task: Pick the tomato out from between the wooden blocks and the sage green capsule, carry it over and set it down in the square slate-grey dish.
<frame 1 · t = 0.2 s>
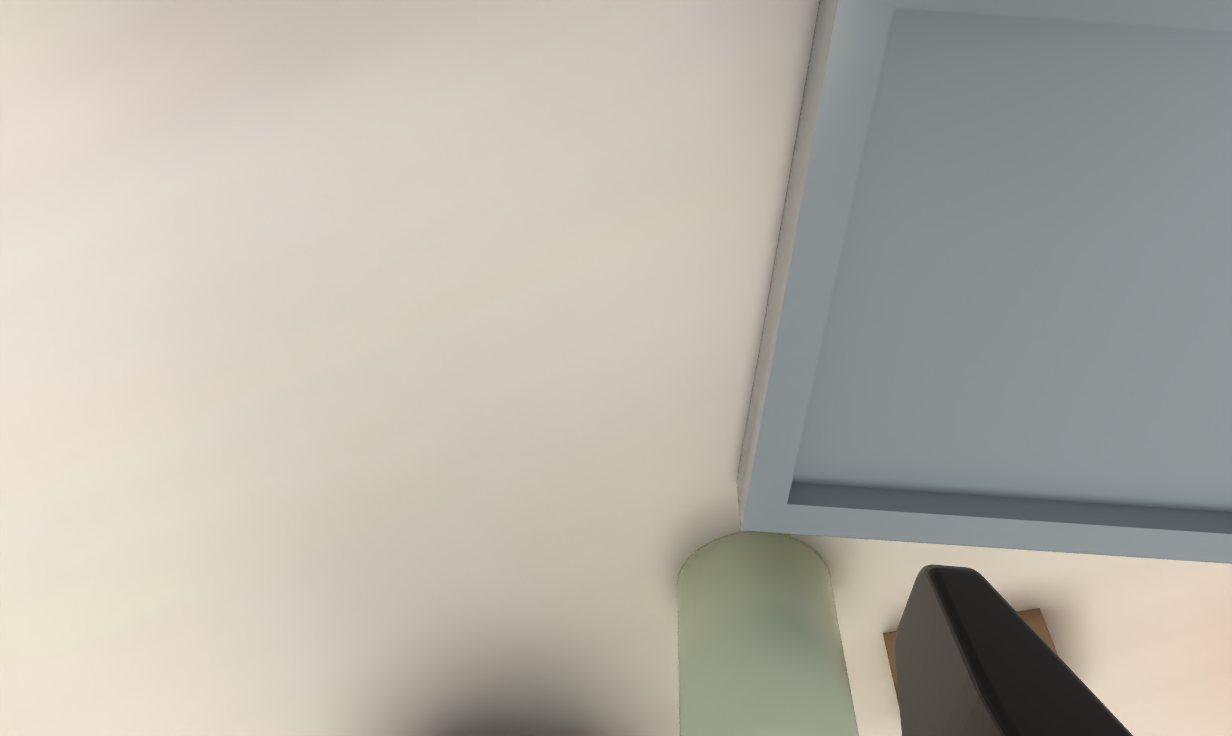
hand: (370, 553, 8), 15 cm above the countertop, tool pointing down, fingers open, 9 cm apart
walnut block: (966, 666, 31), on the countertop
dish: (1085, 272, 23), on the countertop
sage green capsule: (753, 586, 29), on the countertop
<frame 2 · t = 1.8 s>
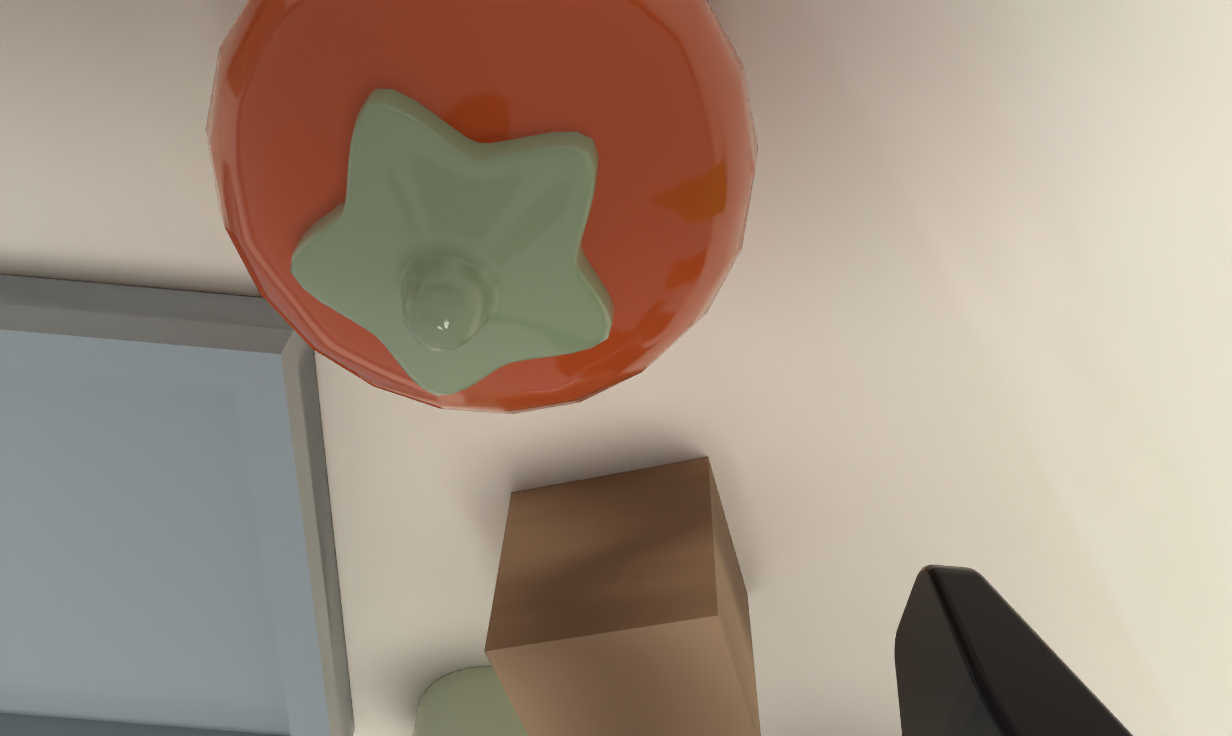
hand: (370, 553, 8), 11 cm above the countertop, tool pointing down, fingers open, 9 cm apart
walnut block: (633, 543, 24), on the countertop
tomato: (520, 67, 17), on the countertop
dish: (36, 527, 24), on the countertop
sage green capsule: (499, 718, 28), on the countertop
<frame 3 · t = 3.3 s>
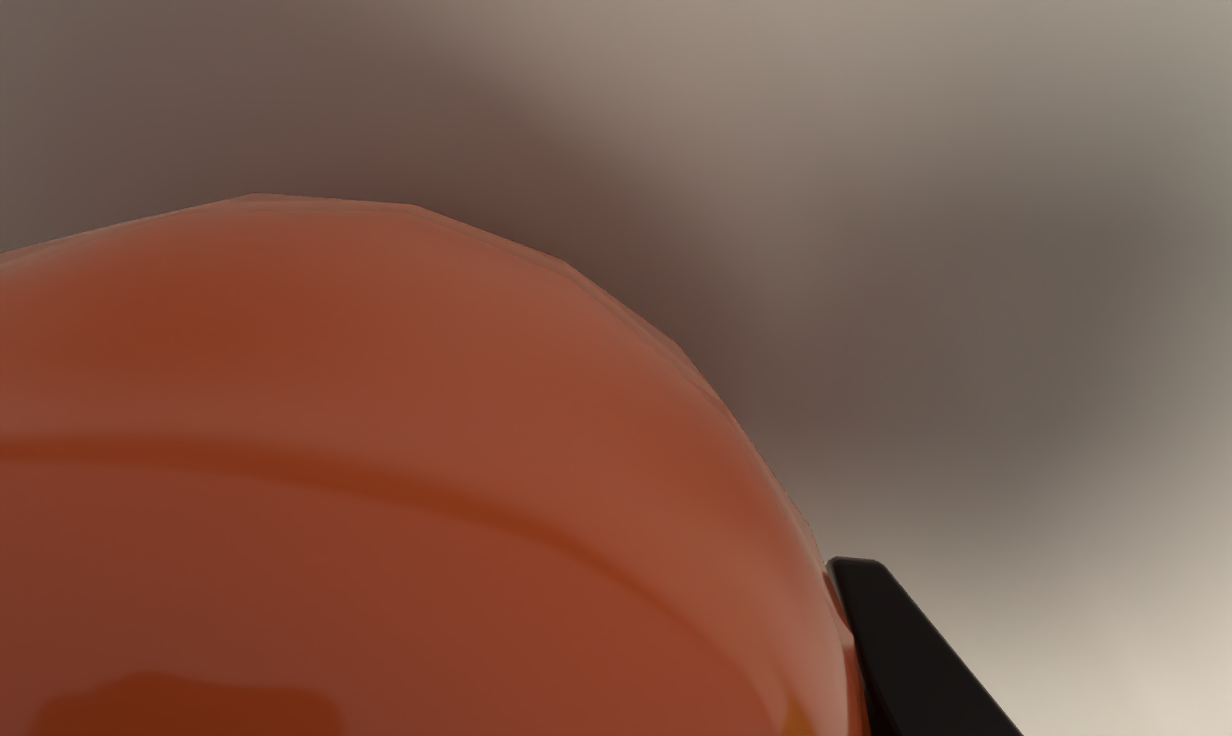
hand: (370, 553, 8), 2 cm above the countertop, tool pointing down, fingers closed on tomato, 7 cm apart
tomato: (417, 401, 10), on the countertop, touching gripper
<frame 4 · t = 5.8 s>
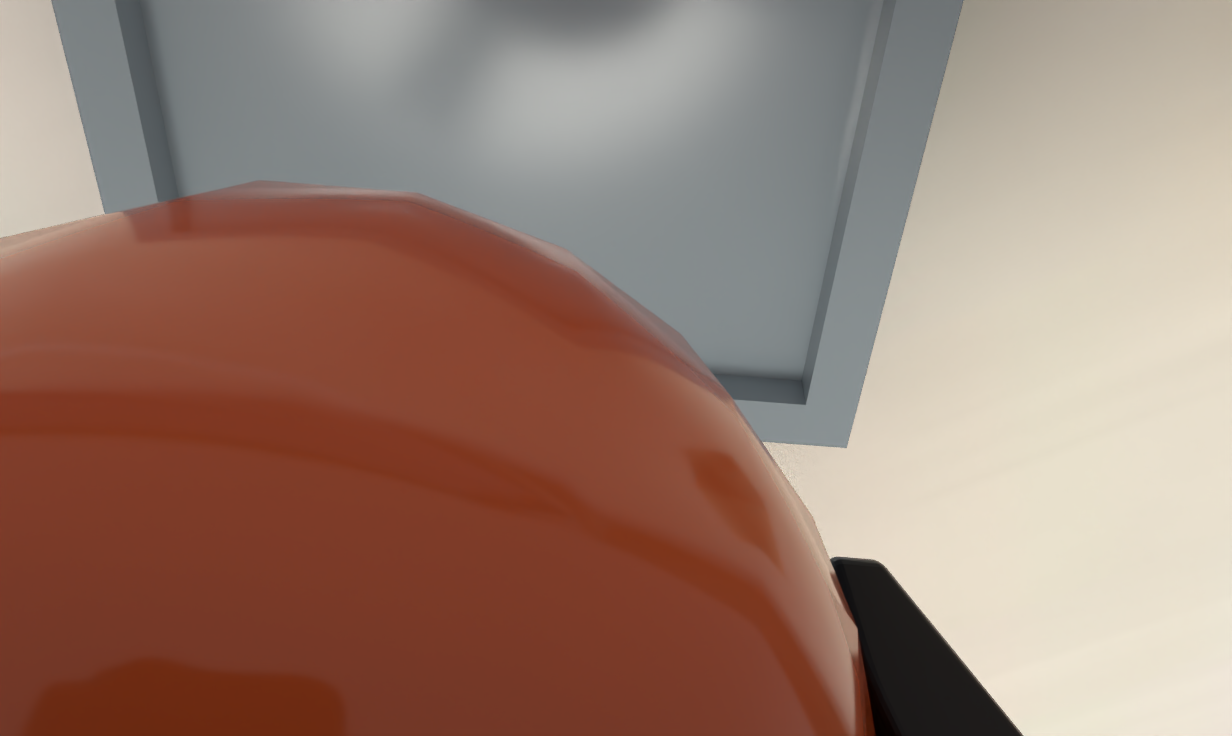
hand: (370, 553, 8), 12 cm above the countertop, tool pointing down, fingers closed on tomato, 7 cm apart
tomato: (420, 394, 10), point 10 cm above the countertop, touching gripper
dish: (513, 45, 18), on the countertop
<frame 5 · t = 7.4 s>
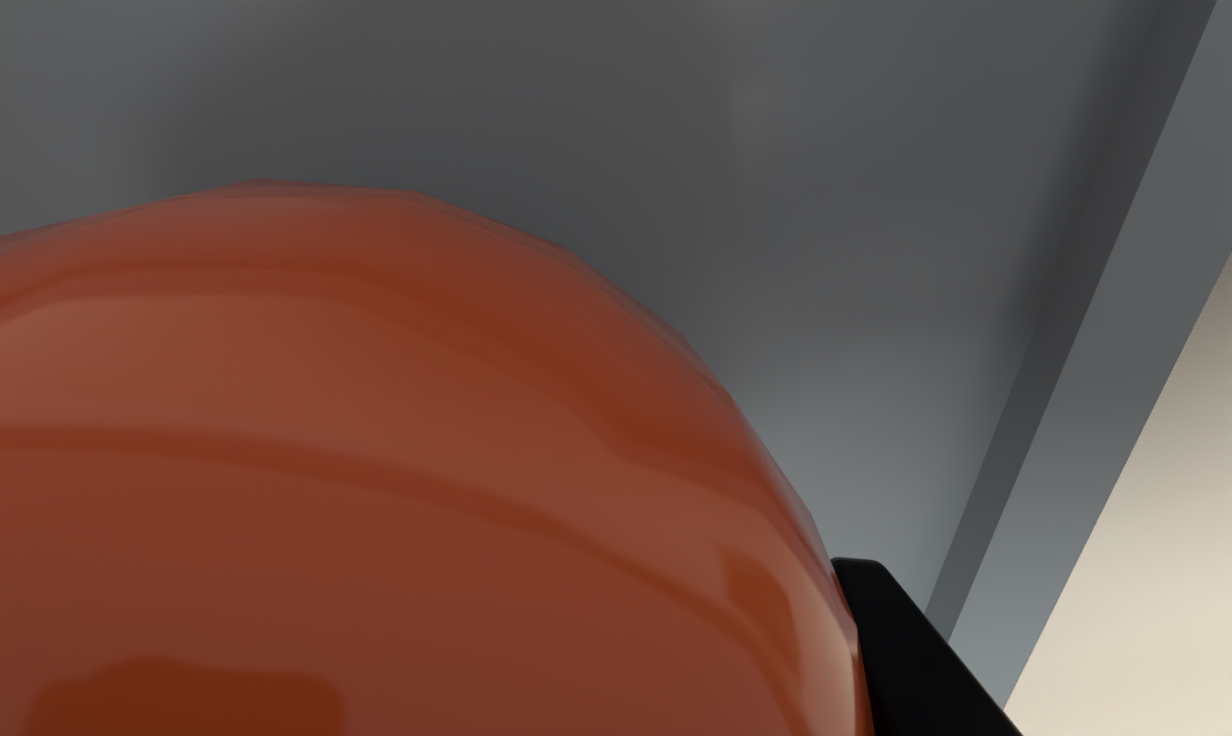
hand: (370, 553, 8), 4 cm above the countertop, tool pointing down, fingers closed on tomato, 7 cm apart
tomato: (420, 392, 10), point 2 cm above the countertop, touching gripper
dish: (456, 292, 11), on the countertop
when the fingers open (4 cm above the countertop, at t = 8.2 s): tomato drops 1 cm, resting on dish.
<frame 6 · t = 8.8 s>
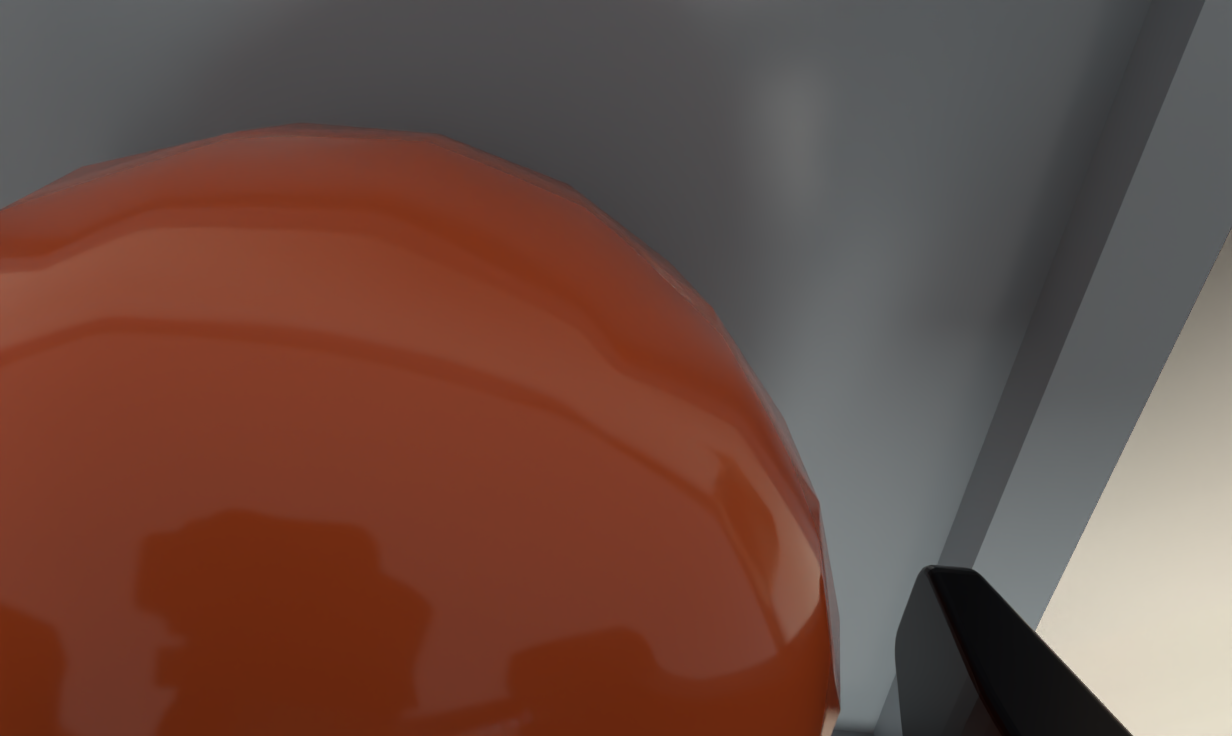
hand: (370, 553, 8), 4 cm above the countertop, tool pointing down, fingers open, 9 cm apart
tomato: (433, 333, 11), point 1 cm above the countertop, touching dish
dish: (453, 294, 12), on the countertop
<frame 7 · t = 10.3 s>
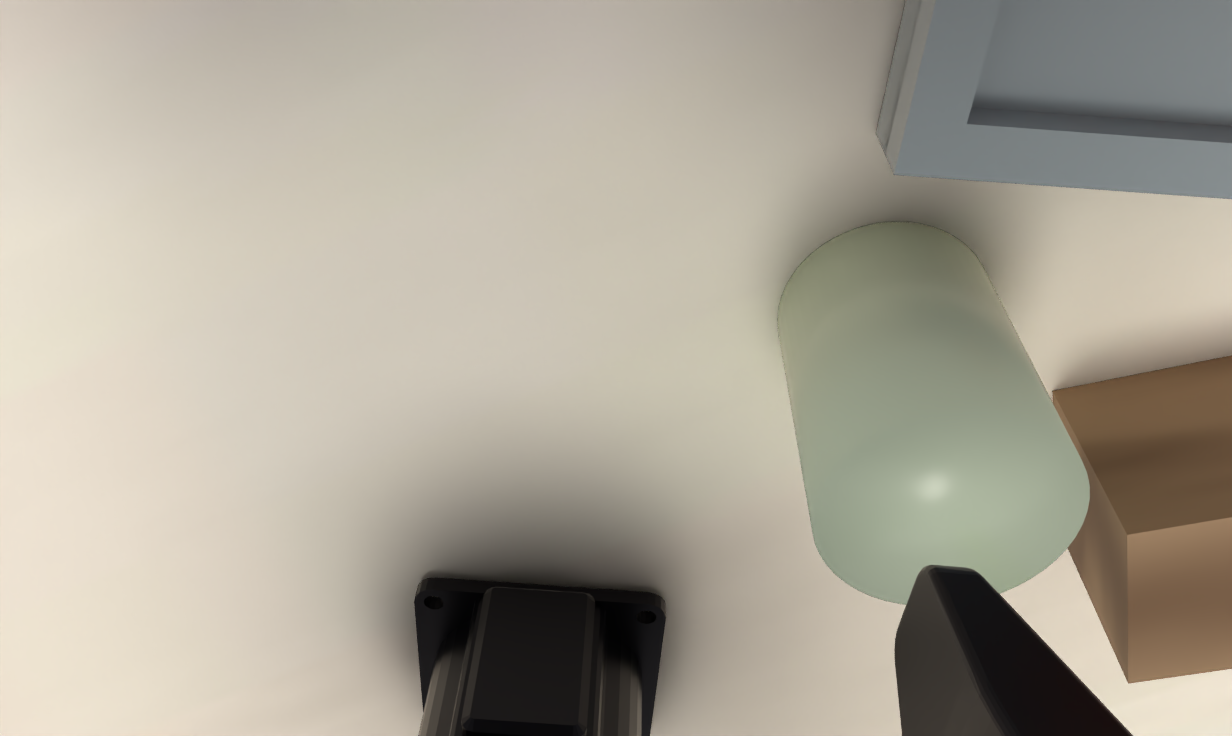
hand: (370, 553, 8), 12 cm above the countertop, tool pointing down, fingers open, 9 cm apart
walnut block: (1158, 444, 23), on the countertop
sage green capsule: (882, 315, 21), on the countertop
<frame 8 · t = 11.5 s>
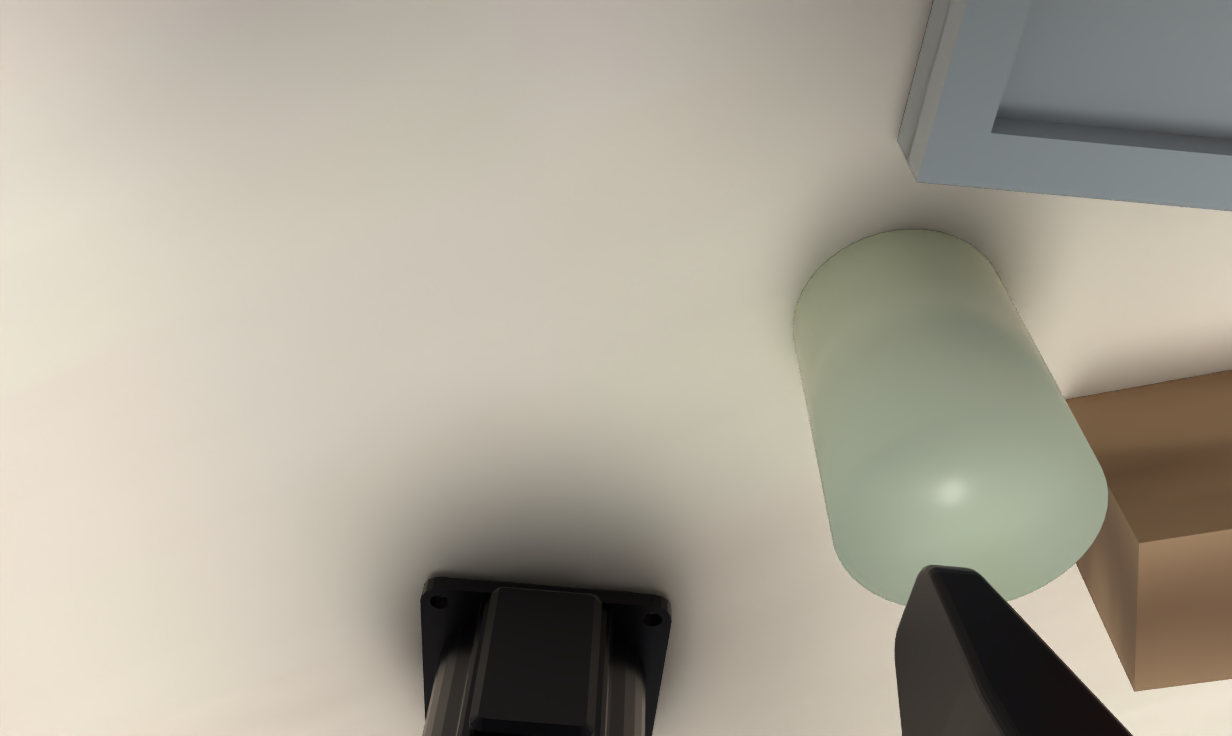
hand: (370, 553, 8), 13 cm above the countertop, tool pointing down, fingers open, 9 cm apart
walnut block: (1164, 455, 24), on the countertop
sage green capsule: (897, 321, 22), on the countertop
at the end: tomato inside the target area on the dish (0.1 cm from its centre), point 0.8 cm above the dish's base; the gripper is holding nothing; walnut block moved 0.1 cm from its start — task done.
